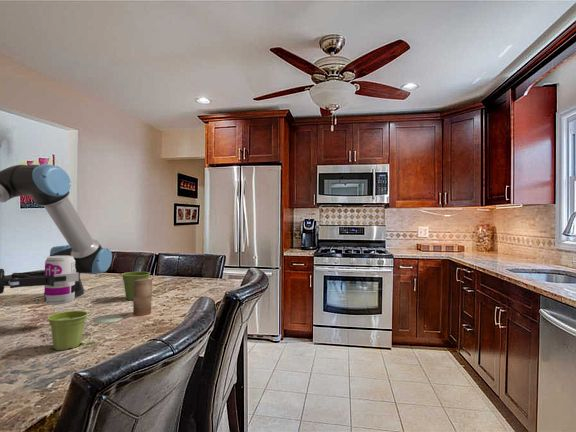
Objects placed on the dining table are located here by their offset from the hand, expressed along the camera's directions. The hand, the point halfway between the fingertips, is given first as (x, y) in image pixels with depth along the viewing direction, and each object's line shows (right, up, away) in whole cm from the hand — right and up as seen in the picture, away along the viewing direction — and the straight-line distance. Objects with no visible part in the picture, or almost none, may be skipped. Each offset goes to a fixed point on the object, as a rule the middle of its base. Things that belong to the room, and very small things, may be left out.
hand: (77, 274), depth 110 cm
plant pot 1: (+10, -17, -20) cm, 28 cm away
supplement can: (-4, -9, -3) cm, 10 cm away
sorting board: (+14, -17, +5) cm, 22 cm away
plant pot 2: (+3, -17, +35) cm, 39 cm away
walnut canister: (+19, -16, +8) cm, 25 cm away
